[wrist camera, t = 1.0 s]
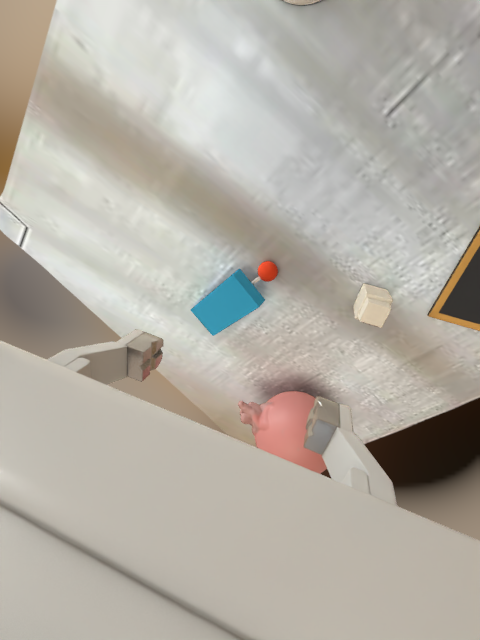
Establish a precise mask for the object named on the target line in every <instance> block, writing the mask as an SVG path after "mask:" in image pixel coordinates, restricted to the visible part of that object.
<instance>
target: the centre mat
mask: <svg viewBox="0 0 480 640" xmlns="http://www.w3.org/2000/svg"><path fill="white" fill-rule="evenodd" d="M428 316H429V317H433V318H436V319H440V320H443V321H447V322H450V323H454V324H457V325H461V326H464V327H468V328H471V329H475V330H478V331H480V227H479V229H478V231H477V232H476V234H475V236H474V237H473V239H472V241H471V242H470V244H469V246H468V247H467V249H466V251H465V252H464V254H463V256H462V258H461V259H460V261H459V263H458V264H457V266H456V268H455V269H454V271H453V273H452V274H451V276H450V278H449V279H448V281H447V283H446V284H445V286H444V288H443V290H442V291H441V293H440V295H439V296H438V298H437V300H436V301H435V303H434V305H433V306H432V308H431V310H430V311H429V313H428Z"/></svg>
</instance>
